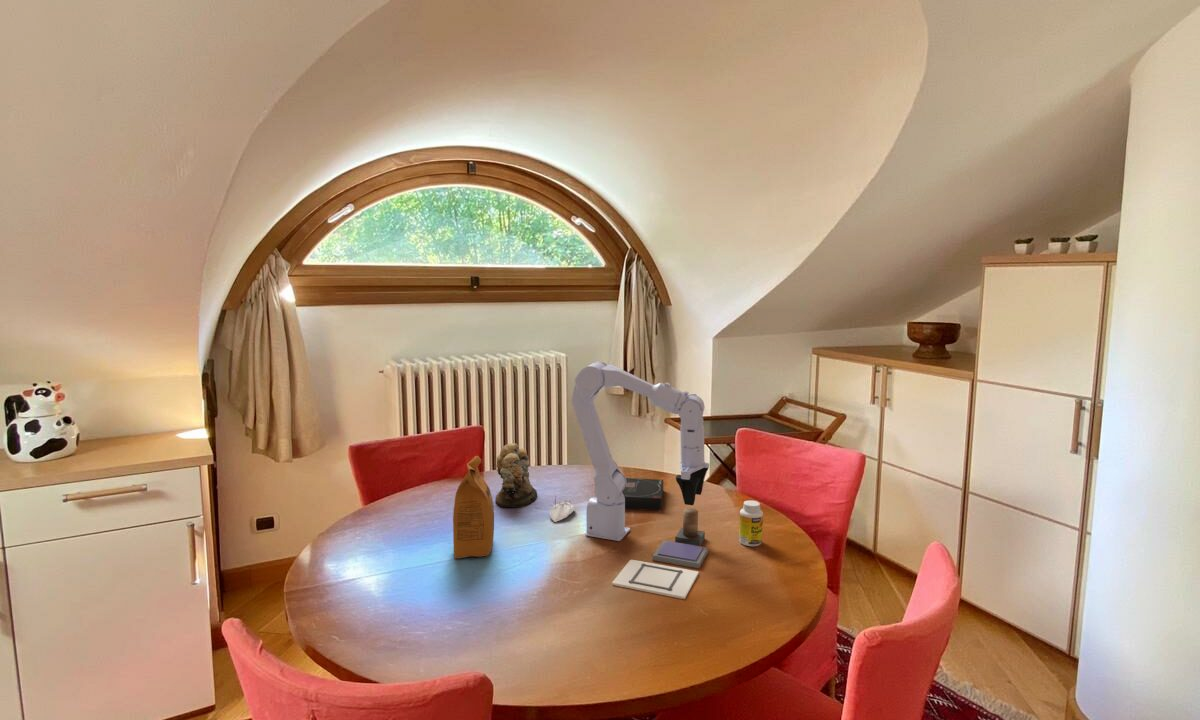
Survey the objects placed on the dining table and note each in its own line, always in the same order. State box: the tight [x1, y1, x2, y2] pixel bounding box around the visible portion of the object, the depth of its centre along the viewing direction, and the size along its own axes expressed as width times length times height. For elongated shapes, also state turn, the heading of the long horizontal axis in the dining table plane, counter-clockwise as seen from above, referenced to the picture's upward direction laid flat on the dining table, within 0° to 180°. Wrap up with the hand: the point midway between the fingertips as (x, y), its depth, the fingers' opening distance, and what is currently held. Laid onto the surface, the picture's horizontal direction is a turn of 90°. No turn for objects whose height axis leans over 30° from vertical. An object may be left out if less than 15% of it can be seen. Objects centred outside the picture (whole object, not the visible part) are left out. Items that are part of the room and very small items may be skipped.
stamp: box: [674, 507, 706, 547], centre depth 158 cm, size 6×6×8 cm
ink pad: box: [652, 539, 709, 569], centre depth 150 cm, size 11×9×2 cm
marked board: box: [611, 559, 699, 600], centre depth 139 cm, size 16×12×1 cm
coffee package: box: [452, 455, 495, 560], centre depth 152 cm, size 10×12×22 cm
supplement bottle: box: [738, 500, 764, 547], centre depth 157 cm, size 6×6×10 cm
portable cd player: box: [622, 477, 664, 511], centre depth 188 cm, size 16×17×4 cm
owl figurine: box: [495, 442, 538, 509], centre depth 187 cm, size 18×12×17 cm, turn 176°
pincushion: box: [549, 497, 576, 523], centre depth 175 cm, size 12×6×6 cm, turn 164°
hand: (693, 499), depth 156 cm, fingers open, 7 cm apart
